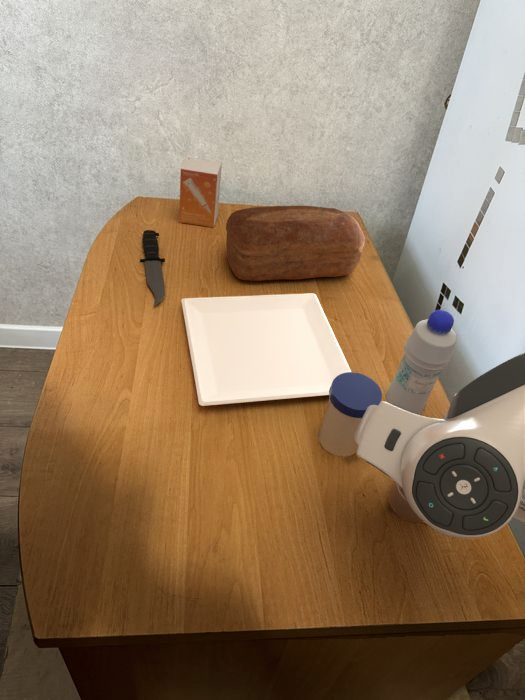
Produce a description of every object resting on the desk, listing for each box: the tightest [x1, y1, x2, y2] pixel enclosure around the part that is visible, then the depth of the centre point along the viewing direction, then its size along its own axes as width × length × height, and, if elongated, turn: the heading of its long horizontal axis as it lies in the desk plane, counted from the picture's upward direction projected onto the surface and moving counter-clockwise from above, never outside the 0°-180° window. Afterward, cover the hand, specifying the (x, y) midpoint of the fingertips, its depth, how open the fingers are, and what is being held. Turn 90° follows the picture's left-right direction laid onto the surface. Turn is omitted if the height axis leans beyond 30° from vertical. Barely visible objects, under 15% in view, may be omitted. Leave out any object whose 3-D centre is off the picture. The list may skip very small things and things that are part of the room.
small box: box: [178, 156, 223, 229], centre depth 118 cm, size 8×6×13 cm
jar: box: [317, 396, 362, 457], centre depth 77 cm, size 7×7×10 cm
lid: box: [328, 371, 383, 418], centre depth 73 cm, size 7×7×2 cm
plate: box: [180, 292, 352, 407], centre depth 92 cm, size 26×26×2 cm
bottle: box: [385, 309, 458, 415], centre depth 80 cm, size 7×7×20 cm
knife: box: [139, 229, 166, 308], centre depth 105 cm, size 25×2×5 cm
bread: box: [225, 205, 366, 282], centre depth 109 cm, size 14×28×12 cm, turn 105°
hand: (439, 456), depth 65 cm, fingers closed on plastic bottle, 6 cm apart
